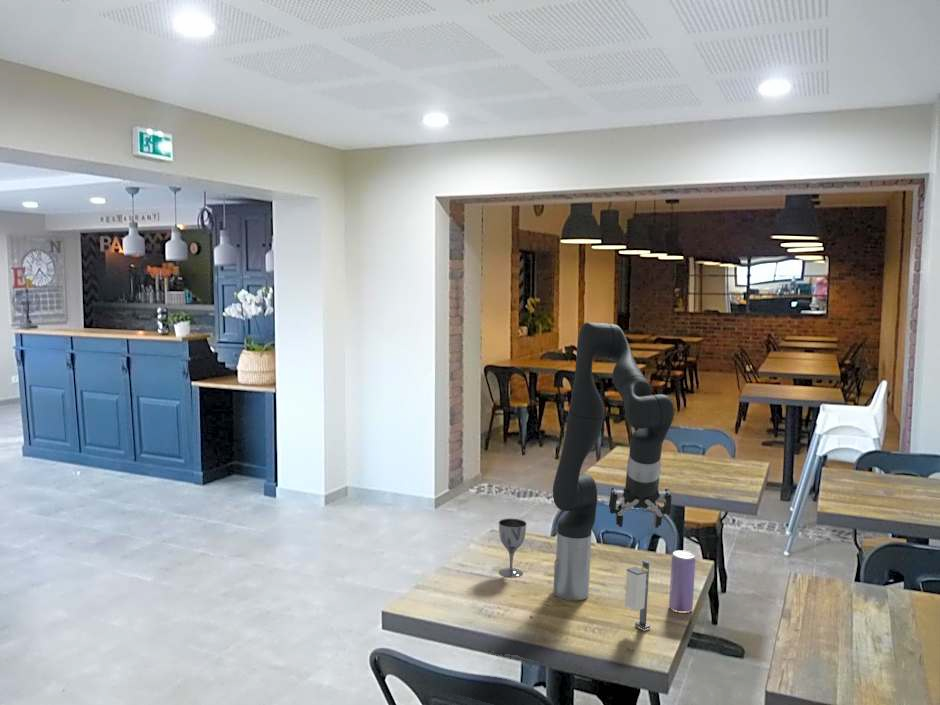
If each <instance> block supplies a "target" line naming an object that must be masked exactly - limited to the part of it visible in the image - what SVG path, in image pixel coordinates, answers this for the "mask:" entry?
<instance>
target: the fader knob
mask: <svg viewBox="0 0 940 705" xmlns="http://www.w3.org/2000/svg"><path fill="white" fill-rule="evenodd" d="M646 573H647V571H644V570H642V569H641V568H639V567H637V566H633V567H630V568H629V567H628V568H626V582H625V584H626V585H625V598H624V599H625V601H624V603H625V604H624V605H625V607H627V608H629V609H631V610H633V611H634V612H636V611H640V609H644V605H645V587H646Z"/></svg>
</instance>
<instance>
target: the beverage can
mask: <svg viewBox="0 0 940 705" xmlns="http://www.w3.org/2000/svg"><path fill="white" fill-rule="evenodd" d="M695 571H696V555H695V554H694V553H693V552H691V551H687V550H675V551H673V552H672V556H671V565H670V581H669V582H670V583H669V599H668V600H669V601H668V607H669V608H672V609H674V610H677V611H690V610H691V611H693V605H694V591H695V590H694V589H695V573H696V572H695Z"/></svg>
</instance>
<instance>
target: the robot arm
mask: <svg viewBox="0 0 940 705" xmlns="http://www.w3.org/2000/svg"><path fill="white" fill-rule="evenodd" d="M576 344H577V346H576V356H575V357H576V359H575V367H574V368H575V370H574V380H573V384H572V392H571V398H570V402H569V406H568V407H569V408H568V411H567V419H566V427H565V433H564V434H565V435H564V438H563V439H564V440H563V443H562V444H563V445H562V449H561V455H560V459H559V463H558V466H557V469H556V473H555V476H554V481H553V486H552V498H553V502H554V504H555V506H556V508H557V509H558V510H560V511H562V512H567V513H566V514H565V515H564V516H563V517H562V518H560V519H559V521H558V522H557V528H556V548H555V549H556V553H555V560H554V566H553V568H554V569H553V570H554V571H553V588H552V591H553V593H552V595H553V597H558V598H560V599H563V600H567V601H574V602H575V601H583V600H585V599H587V598H588V597H589V592H590V575H591V574H590V572H591V570H590V568H591V551H592V531H593V528H594V525H595V523H596V516H597V504H598V488H597V483H596V481H595V479H594V478H593V477H592V475H590V474H588V473H584V472H583V473H581V470H582V468H583V464H584V462H585V459H586V458H587V457H588V455H589V453H590V452H591V450H592V449H593V448H594V446H595V444H596V443H597V441H598V440H599V438H600V435H601V432H602V428H603V423H604V418H605V405H604V401H603V399H602V397H601V394H600V393H599V390H598V389H597V386H596V384H595V383H596V382H595V380H594V377H593V361H594V360H596V359H597V360H613V361H614V362H615V363H616V364H615V366H614V368H613V370H612V382H613V385H614V387H615V389H616V391H617V392H618V394H619V396H620V398H621V399H622V402H623V403H622V404H623V407H624V415H625V419H626V422H627V424H628V425H629V426H630V427H632V428H634V429H636V430H635V431H633V432H632V434H631V437H630V442H629V452H628V453H629V454H628V458H627V463H626V464H627V467H626V477H625V485H624V486H625V487H624V489H623V490H621V489H620V490H619V489H617V487H611V489H610V490H611V491H610V496H609V502H608V503H609V504H608V507H609V513H610V514H615V522H616V525H617V526H618V527H619V528H623V520H624V514H625V513H626V512H629V511H630V510H631V509H632V508H633V509H648V508H650V509H651V511H652V512H654V518H653V525H654V528H655V529H659V527H660V526H661V525H662V520H663V516H664V515H667V516H669V515H671V513H672V510H671V509H672V493H671V490H670V488H667V487H666V488H665V489H664V490H661V491H660V490H659V486H660V485H659V484H660V477H661V472H662V471H661V470H662V468H661V467H662V461H661V458H662V449H663V443H664V441H665V438H666V437H667V435H668V432H669V430H670V428H671V426H672V423H673V421H674V417H675V406H674V404H673V401H672V399H671V398H670V397H669V396H667V395H666V394H653V395H652V393H653V391H652V390H653V389H652V386H651V384H650V382H649V381H648V380H647V378H646V377H645V375H644V374H643V373H642V371H641V369H640V368H639V366H638V365H637V363H636V360H635V358H634V354H633V352H632V350H631V346H630V344H629V341H628V339H627V336H626V335H625V333H624V331H623V330H622V328H621V327H620V326H619V325H617V324H614V323H605V322H594V321H593V322H592V321H591V322H590V321H588V322H584V323H583V324H582V325H581V327H580V329H579V333H578V337H577V343H576ZM621 497H623V498H622V500H621V501H620V503H619V504H617V503H618V502H617V501H619V500H620V499H621ZM660 498H661V499H662V501H663V506H661V505H660V504H659V503H658V502H657V501H658V500H659V499H660Z"/></svg>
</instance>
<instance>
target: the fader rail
mask: <svg viewBox="0 0 940 705" xmlns="http://www.w3.org/2000/svg"><path fill="white" fill-rule="evenodd" d="M640 569H642V570H644V571H647V573H646V587H645V605H644V609H640V610H639V621H636V622H635V624H634V626H635V625H636V626H638V627H640V628H642V629H644V630H645V629H647V628H650V629H651V625H649V624H648V623H647V613H648V597H649V596H648V593H649V575H650V574H649V573H650V562H649V561H646V560H643V561H642V565H641V568H640Z"/></svg>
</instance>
